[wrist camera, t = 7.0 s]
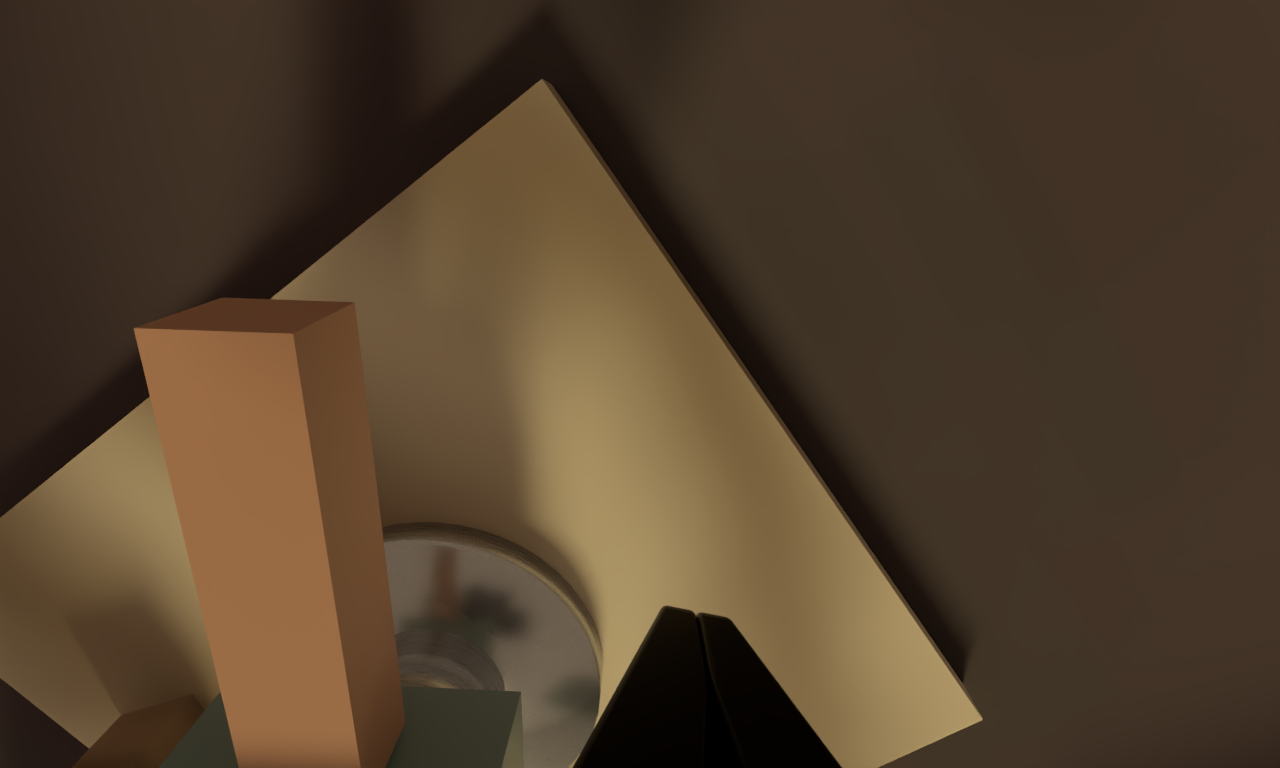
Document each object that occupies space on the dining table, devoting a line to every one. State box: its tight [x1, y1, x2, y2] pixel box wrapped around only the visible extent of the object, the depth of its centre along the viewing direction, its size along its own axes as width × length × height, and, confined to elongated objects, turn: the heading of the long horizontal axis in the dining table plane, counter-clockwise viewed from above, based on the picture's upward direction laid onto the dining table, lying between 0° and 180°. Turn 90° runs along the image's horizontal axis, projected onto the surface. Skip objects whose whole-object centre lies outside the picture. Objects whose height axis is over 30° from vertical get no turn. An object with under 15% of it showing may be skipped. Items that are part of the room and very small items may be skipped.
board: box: [0, 79, 983, 768], centre depth 15 cm, size 18×16×1 cm
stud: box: [382, 522, 603, 768], centre depth 13 cm, size 7×7×3 cm
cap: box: [134, 298, 524, 768], centre depth 9 cm, size 11×5×3 cm, turn 178°
